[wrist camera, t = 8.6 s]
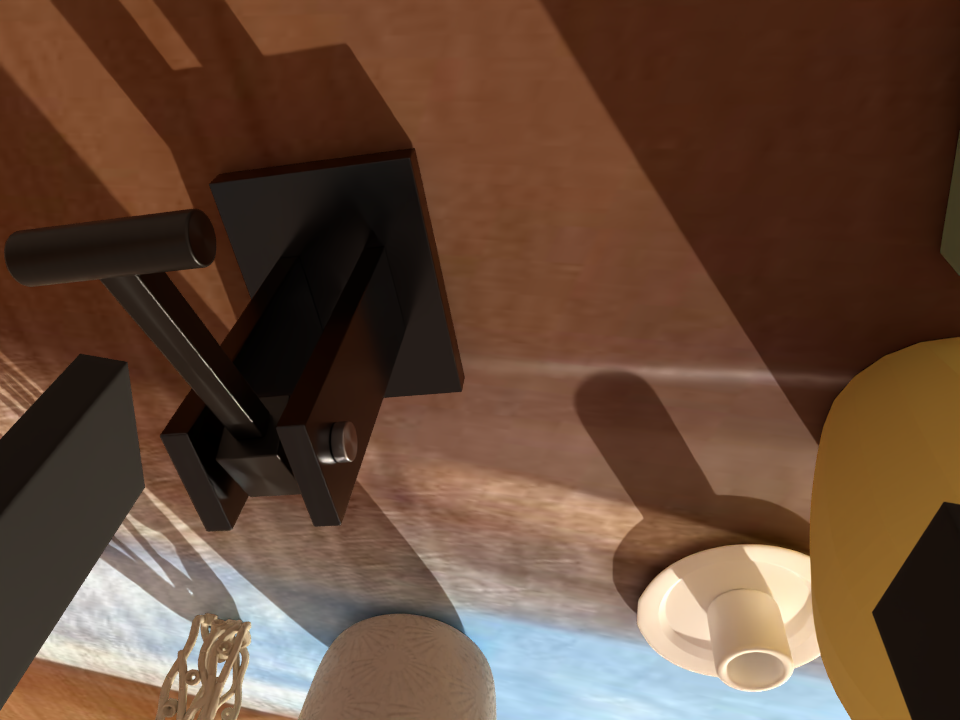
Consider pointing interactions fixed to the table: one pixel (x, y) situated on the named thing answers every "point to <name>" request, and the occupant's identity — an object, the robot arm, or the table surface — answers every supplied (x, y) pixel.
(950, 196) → the control block
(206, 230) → the lever
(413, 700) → the planter
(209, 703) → the bracelet
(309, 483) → the bracket
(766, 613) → the candle holder
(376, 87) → the table surface
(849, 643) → the vase
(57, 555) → the robot arm
